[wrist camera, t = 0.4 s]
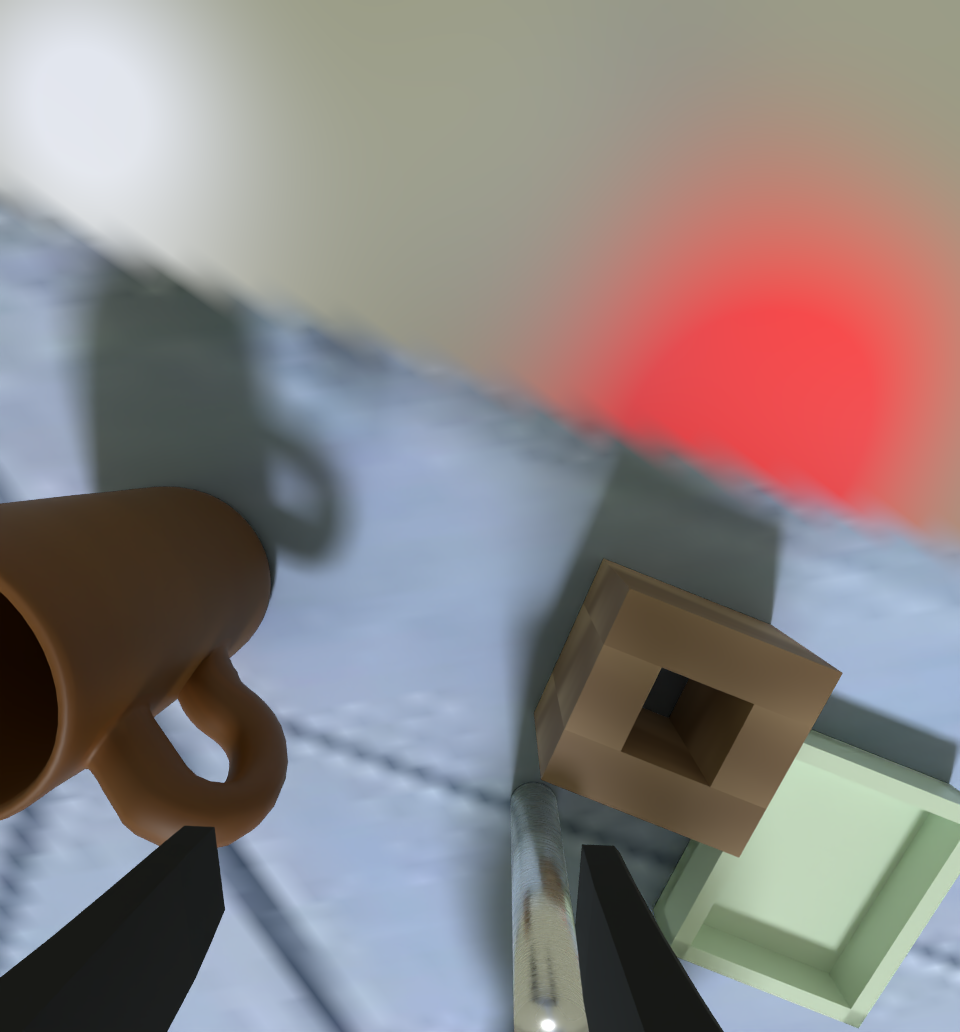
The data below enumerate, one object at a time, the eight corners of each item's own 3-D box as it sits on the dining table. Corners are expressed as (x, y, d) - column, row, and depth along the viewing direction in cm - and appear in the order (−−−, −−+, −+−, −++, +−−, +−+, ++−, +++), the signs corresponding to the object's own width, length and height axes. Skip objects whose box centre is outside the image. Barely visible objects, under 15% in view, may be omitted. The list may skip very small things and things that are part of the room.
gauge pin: (546, 830, 21) (571, 1069, 13) (503, 813, 21) (502, 1042, 13) (564, 792, 20) (601, 1013, 12) (520, 775, 20) (531, 986, 12)
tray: (828, 978, 21) (858, 1028, 19) (652, 910, 21) (666, 953, 19) (950, 784, 19) (995, 818, 18) (760, 709, 19) (786, 736, 18)
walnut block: (692, 775, 20) (739, 857, 16) (533, 713, 20) (540, 779, 16) (771, 625, 19) (842, 673, 15) (603, 558, 19) (629, 588, 15)
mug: (401, 616, 20) (307, 771, 10) (304, 749, 21) (141, 997, 11) (157, 445, 19) (-175, 446, 10) (72, 592, 20) (-299, 717, 11)
